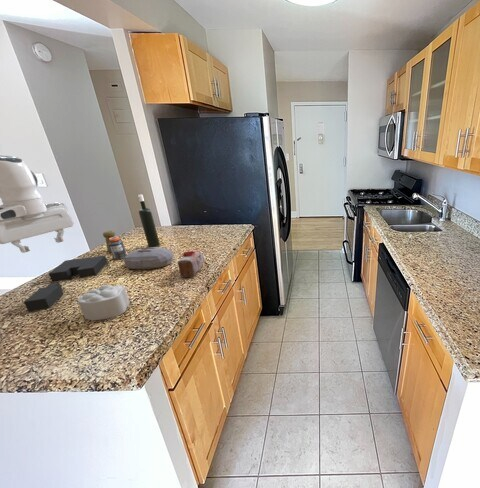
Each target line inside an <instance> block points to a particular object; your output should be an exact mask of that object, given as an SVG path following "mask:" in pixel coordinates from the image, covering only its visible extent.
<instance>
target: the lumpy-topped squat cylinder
mask: <svg viewBox="0 0 480 488" xmlns="http://www.w3.org/2000/svg"><path fill="white" fill-rule="evenodd" d="M76 300H77V304H78V305H79V308H80V310H81V312H82V315H83V317H84V319H86V320H89V321H101V320H107V319H111V318H115V317H118V316H120V315H122V314H124V313H126V311H127V308H128V307H129V306H130V304H131V302H130V299H129V296H128V293H127V289H126V287H125V286H124V285H121V284H120V285H110V284H103V285H101V286H99V287H97V288H92V289H89V290H87V291H86V292H85V293H82V294H81V295H79V296H78V297H77V299H76Z"/></svg>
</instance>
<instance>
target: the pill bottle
mask: <svg viewBox="0 0 480 488" xmlns="http://www.w3.org/2000/svg"><path fill="white" fill-rule="evenodd" d="M109 241H110V242H109V244H108V245H109V248H110V250H111V252H110V253H111V256H112V258H113V260H114V261H115V260H117V261H118V260H124V259H125V257H126V255H128V253H127V251H126V248H125V244H124V242H123V240H120V237H119V236H115V237H111V238H109Z"/></svg>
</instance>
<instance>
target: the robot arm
mask: <svg viewBox="0 0 480 488" xmlns="http://www.w3.org/2000/svg"><path fill="white" fill-rule="evenodd" d="M37 187H38V178H37V176H36V174H35V173H34V172H33V171H32V170H31V169H30V167H29V166H28V165H27V163H26V162H25V161H24V160H23V159H22V158H19V157H16V156H11V155H0V201H1V202H2V204H1V205H0V245H5V244H10V243H11V245H13V246H15V247H17V248H18V249H19V251H20V252H21V253H22V254H25V253H28V252H30V251H31V250H30V249H29V246H28V245H22V244H21V243H22V241H21V240H25V239H28V238H32V237H37V236H40V235H41V236H42V235H45V234H48V233H52V232H55V233H57V234H56V236H55V237H54V238H53V239H54V241H55V242H56V243H58V244H59V243H63V242H64V238H63V236H64V233H65V230H64V229H67V228H72V227H73V226H74V224H75V222H74V220H73V218H72V216H71V215H70V213H69V210H68V207H67V205H66V204H65V203H62V202H53V203H46V202H45V201H44V199H43V196H42V194H41V193H40V192H39V190H38V189H37ZM45 203H46V204H45Z"/></svg>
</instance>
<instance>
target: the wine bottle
mask: <svg viewBox="0 0 480 488" xmlns="http://www.w3.org/2000/svg"><path fill="white" fill-rule="evenodd" d="M137 198H138V201H139V203H140V207H141V208H140V209H139V210H138V216H139V219H140V222H141V226H142V229H143V232H144V233H143V234H144V236H145V239H146V243H147V246H148V248H151V247H158V246H159V247H160V244H161V243H160V240H159V236H158V231H157V227H156V224H155V220H154V217H153V213H152V210H151V209H150V208H148V207H146V202H145V198H144V195H143V194H138V196H137Z"/></svg>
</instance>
